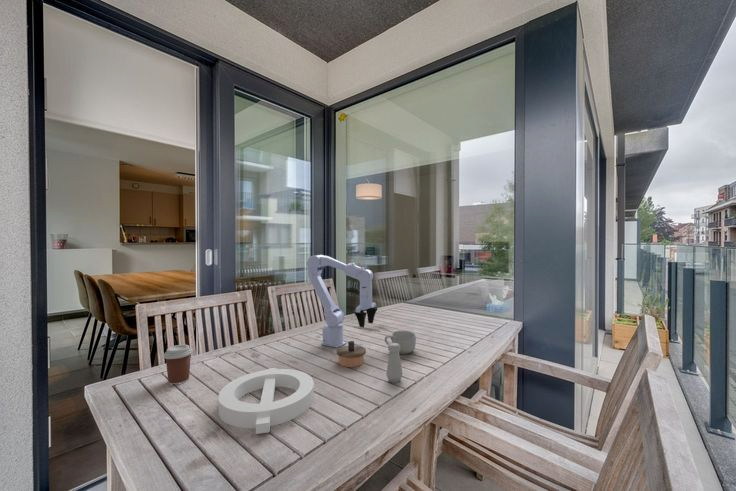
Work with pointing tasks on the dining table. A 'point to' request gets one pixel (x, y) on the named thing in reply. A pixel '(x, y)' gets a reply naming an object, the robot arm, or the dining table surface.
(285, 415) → the ring with crossbar
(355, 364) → the bowl
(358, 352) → the lid
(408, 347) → the teacup
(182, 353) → the coffee cup
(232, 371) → the dining table surface
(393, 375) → the salt shaker
